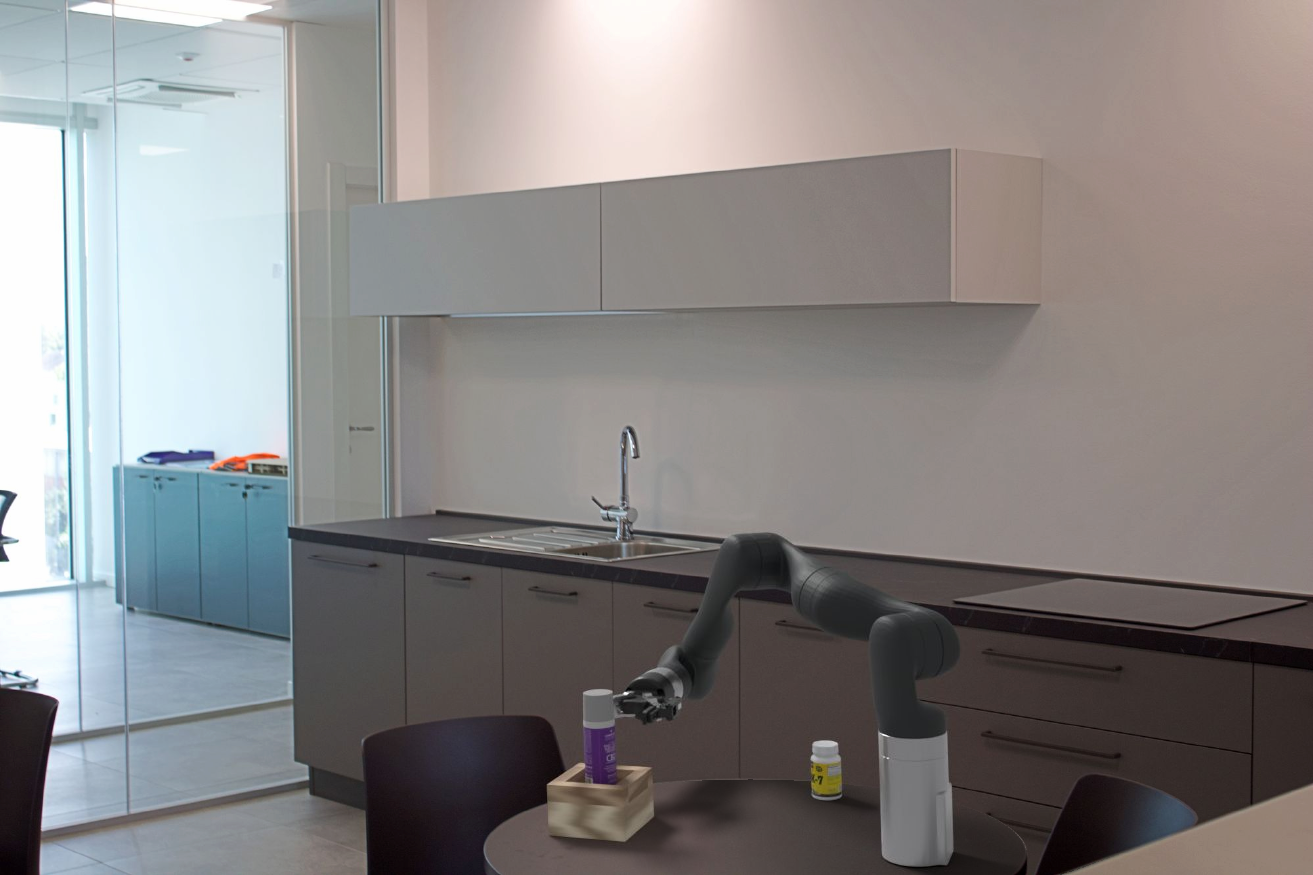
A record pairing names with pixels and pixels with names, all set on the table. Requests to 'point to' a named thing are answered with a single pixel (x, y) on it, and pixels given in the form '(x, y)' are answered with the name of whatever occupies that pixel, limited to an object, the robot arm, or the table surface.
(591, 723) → the container
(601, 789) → the wooden open tray
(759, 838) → the table surface
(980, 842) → the table surface
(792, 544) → the robot arm
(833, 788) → the supplement bottle
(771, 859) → the table surface
